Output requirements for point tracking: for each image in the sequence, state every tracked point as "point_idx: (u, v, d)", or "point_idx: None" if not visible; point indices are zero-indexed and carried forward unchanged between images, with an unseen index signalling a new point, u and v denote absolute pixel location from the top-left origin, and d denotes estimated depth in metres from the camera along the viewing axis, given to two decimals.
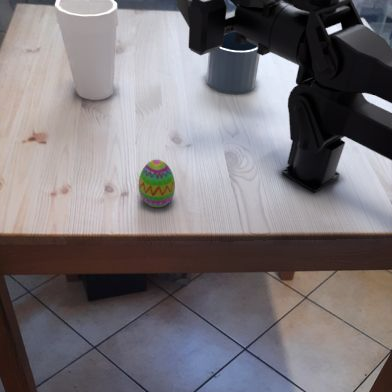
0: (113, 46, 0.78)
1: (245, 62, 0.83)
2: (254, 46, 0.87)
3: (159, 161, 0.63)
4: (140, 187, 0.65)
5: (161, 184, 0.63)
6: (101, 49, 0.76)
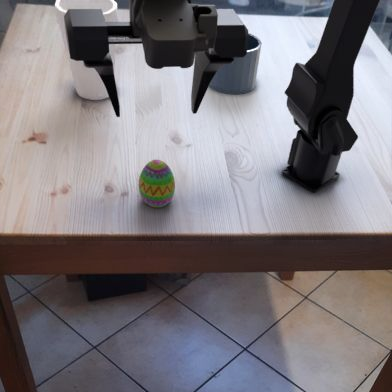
0: (113, 46, 0.78)
1: (245, 62, 0.83)
2: (254, 46, 0.87)
3: (159, 161, 0.63)
4: (140, 187, 0.65)
5: (161, 184, 0.63)
6: None
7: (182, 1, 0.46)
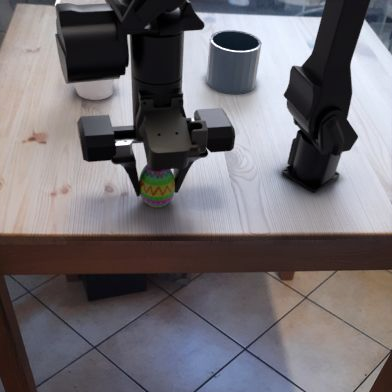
0: None
1: (245, 62, 0.83)
2: (254, 46, 0.87)
3: None
4: (140, 187, 0.65)
5: (161, 184, 0.63)
6: None
7: (178, 116, 0.54)
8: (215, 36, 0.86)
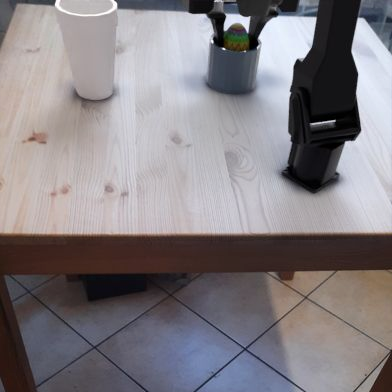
0: (113, 46, 0.78)
1: (245, 62, 0.83)
2: (254, 46, 0.87)
3: (239, 23, 0.82)
4: (223, 46, 0.84)
5: (241, 41, 0.83)
6: (101, 49, 0.76)
7: None
8: None
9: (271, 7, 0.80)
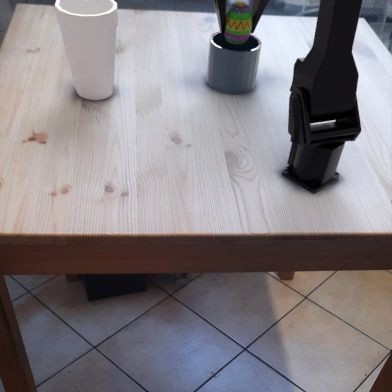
0: (113, 46, 0.78)
1: (245, 62, 0.83)
2: (254, 46, 0.87)
3: (242, 0, 0.80)
4: (225, 24, 0.82)
5: (243, 19, 0.80)
6: (101, 49, 0.76)
7: None
8: (215, 36, 0.86)
9: None
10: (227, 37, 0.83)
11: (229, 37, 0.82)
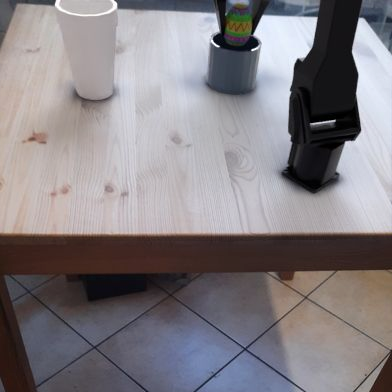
0: (113, 46, 0.78)
1: (245, 62, 0.83)
2: (254, 46, 0.87)
3: (242, 2, 0.80)
4: (225, 26, 0.82)
5: (243, 20, 0.80)
6: (101, 49, 0.76)
7: None
8: (215, 36, 0.86)
9: None
10: (227, 39, 0.83)
11: (229, 39, 0.83)
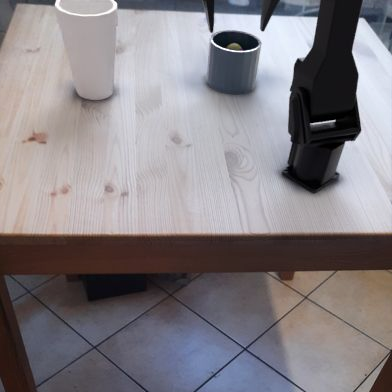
0: (113, 46, 0.78)
1: (245, 62, 0.83)
2: (254, 46, 0.87)
3: (236, 44, 0.85)
4: None
5: None
6: (101, 49, 0.76)
7: None
8: (215, 36, 0.86)
9: None
10: None
11: None
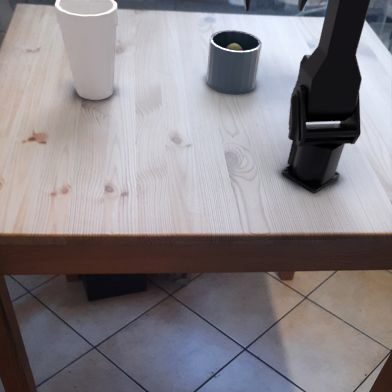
0: (113, 46, 0.78)
1: (245, 62, 0.83)
2: (254, 46, 0.87)
3: (236, 44, 0.85)
4: None
5: None
6: (101, 49, 0.76)
7: None
8: (215, 36, 0.86)
9: None
10: None
11: None
